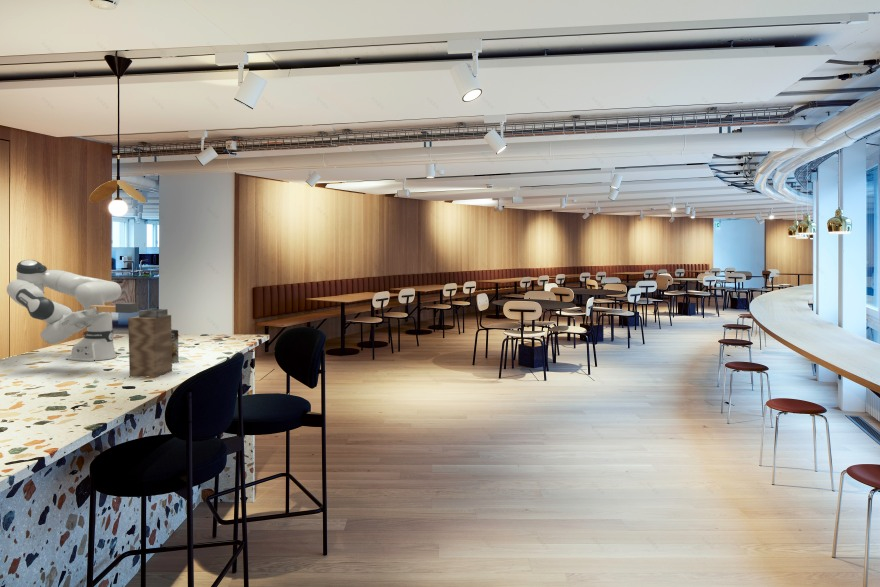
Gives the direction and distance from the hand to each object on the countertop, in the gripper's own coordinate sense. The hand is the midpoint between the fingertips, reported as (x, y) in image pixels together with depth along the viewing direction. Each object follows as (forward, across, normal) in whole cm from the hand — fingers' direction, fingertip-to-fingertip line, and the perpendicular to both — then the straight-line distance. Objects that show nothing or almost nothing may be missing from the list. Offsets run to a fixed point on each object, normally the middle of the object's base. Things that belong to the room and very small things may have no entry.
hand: (100, 307), depth 270 cm
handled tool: (+4, 0, +4) cm, 6 cm away
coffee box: (0, +25, +34) cm, 42 cm away
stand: (+6, 0, +37) cm, 38 cm away
